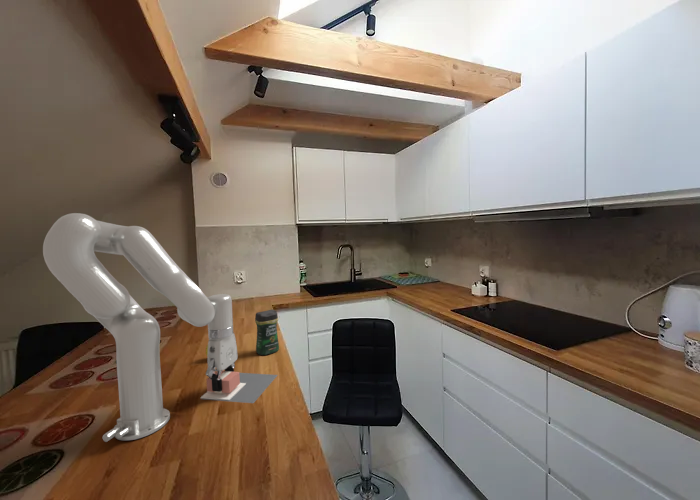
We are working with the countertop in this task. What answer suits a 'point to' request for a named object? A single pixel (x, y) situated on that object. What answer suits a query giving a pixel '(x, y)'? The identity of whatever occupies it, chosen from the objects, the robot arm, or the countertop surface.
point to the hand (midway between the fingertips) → (223, 384)
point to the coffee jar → (266, 332)
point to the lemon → (207, 350)
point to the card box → (226, 381)
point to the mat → (251, 387)
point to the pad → (222, 394)
